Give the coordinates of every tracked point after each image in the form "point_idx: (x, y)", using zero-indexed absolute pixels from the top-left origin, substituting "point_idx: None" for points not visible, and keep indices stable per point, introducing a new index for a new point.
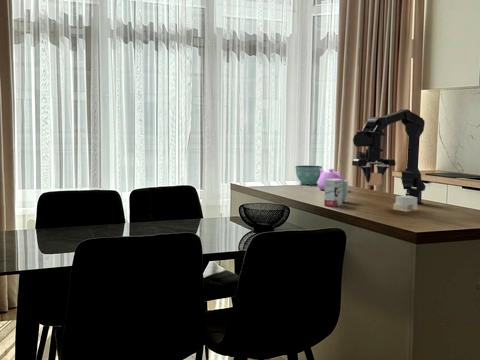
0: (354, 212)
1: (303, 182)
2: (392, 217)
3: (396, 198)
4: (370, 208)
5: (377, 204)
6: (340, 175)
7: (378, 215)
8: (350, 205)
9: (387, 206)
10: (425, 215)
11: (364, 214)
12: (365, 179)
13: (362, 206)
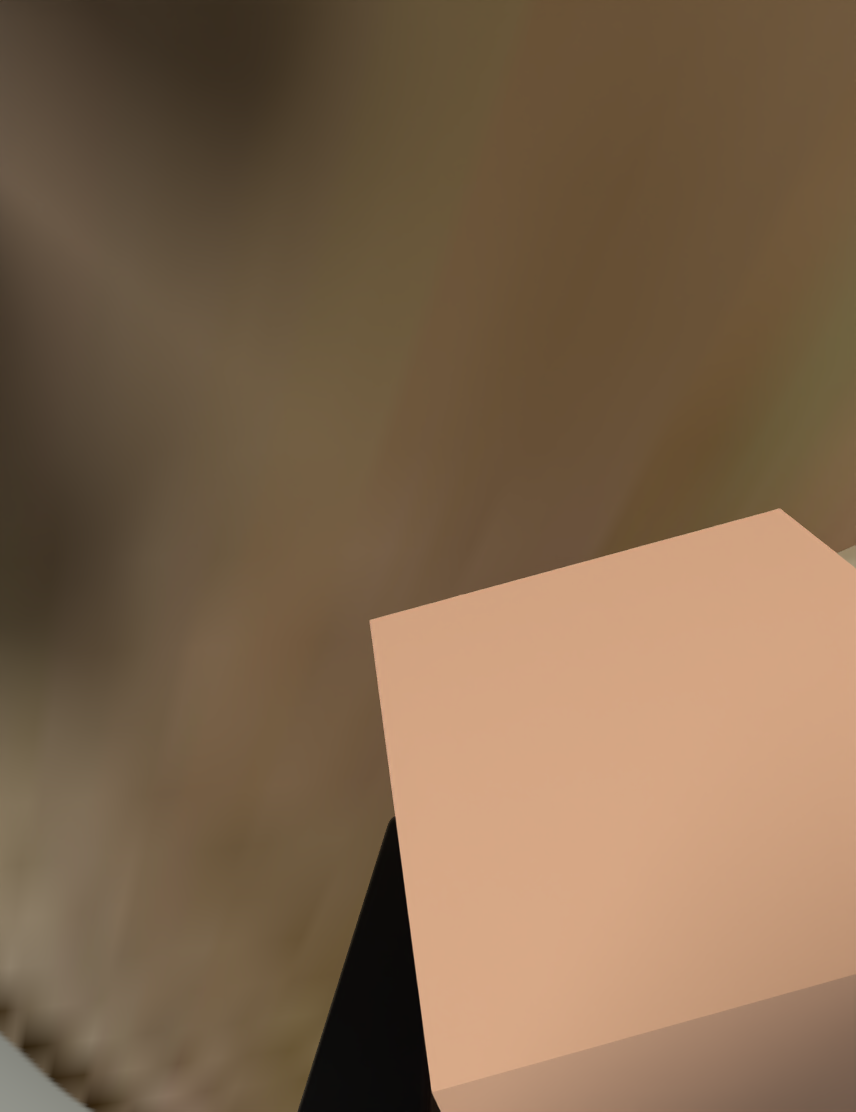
0: (65, 866)
1: None
2: None
3: None
4: (388, 558)
5: (744, 29)
6: None
7: (315, 981)
8: (73, 178)
9: (778, 339)
10: None
11: (172, 955)
12: (389, 762)
13: (313, 335)
